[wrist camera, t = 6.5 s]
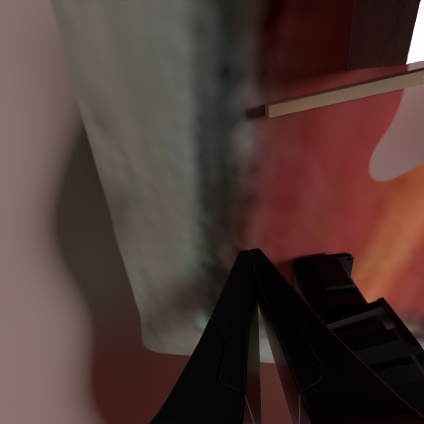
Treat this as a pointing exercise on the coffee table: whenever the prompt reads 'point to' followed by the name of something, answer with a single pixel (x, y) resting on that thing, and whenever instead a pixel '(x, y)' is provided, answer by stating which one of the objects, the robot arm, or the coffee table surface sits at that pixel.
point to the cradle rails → (346, 93)
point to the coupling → (386, 33)
